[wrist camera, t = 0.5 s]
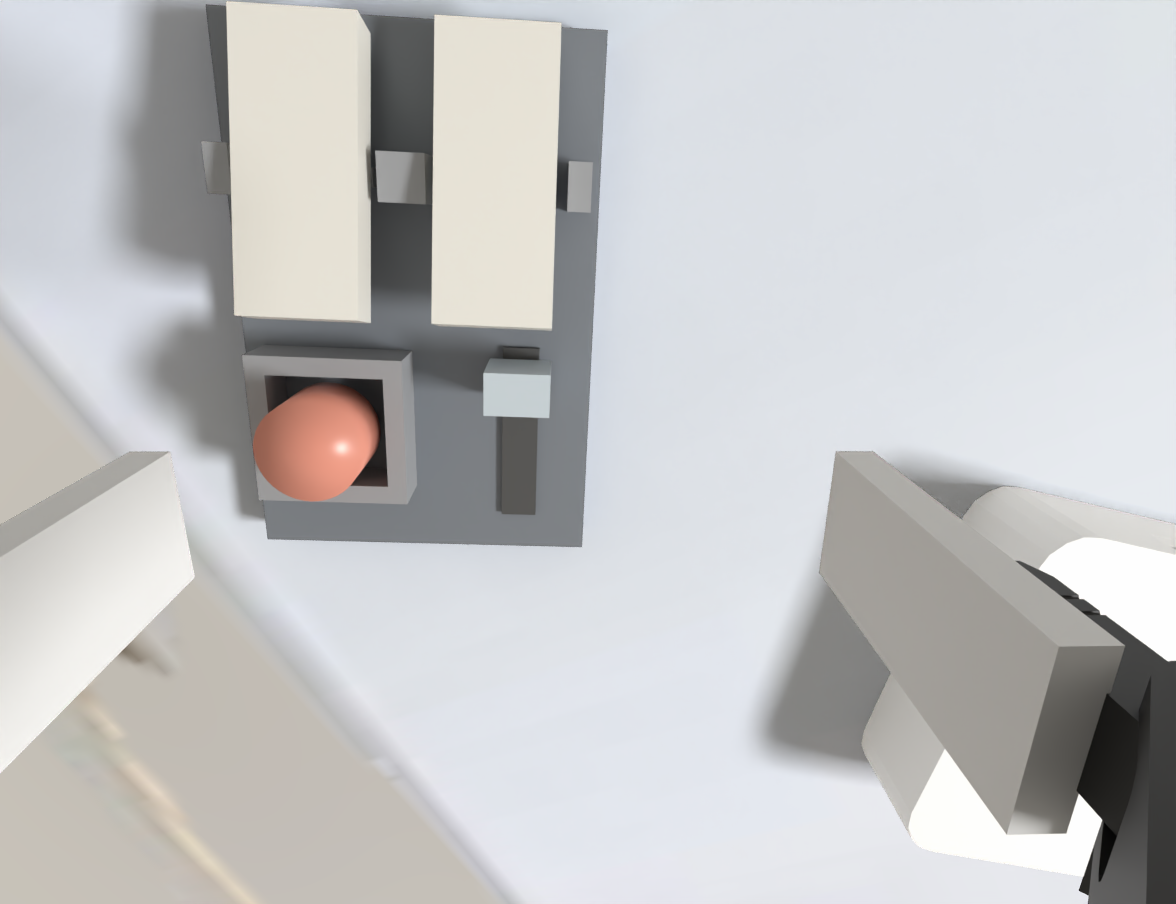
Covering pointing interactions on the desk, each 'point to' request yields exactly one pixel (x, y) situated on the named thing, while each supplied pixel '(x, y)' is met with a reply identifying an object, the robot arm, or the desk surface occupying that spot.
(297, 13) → the block
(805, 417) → the desk surface
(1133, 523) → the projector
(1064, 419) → the desk surface
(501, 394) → the block
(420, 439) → the panel
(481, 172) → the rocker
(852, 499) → the robot arm
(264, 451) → the button
